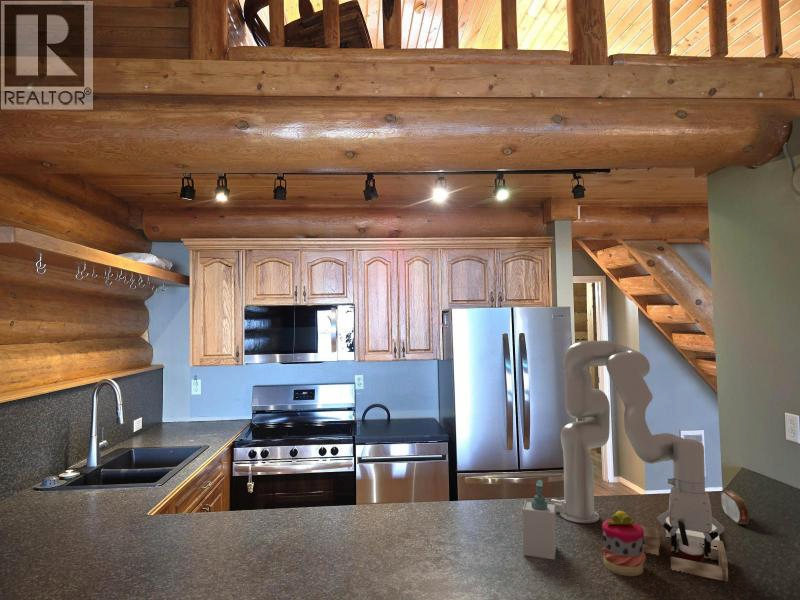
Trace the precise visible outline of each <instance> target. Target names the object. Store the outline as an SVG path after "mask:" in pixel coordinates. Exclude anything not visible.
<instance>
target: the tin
mask: <svg viewBox="0 0 800 600" xmlns="http://www.w3.org/2000/svg"><path fill="white" fill-rule="evenodd" d="M720 500H721V507H722V510H723V513H724V514H725V515H726V516H727V517H729V519H731V520H732V521H733V522H734V523H735V524H737V525H745V526H747V525H748V524H749V519H750V517H749V516H750V515H749V511H748V506H747V504H746V502H745V500H744V499H743V498H742V497H741V496H740V495H738V494H737V493H735V491H733V490H732V489H730V490H725V489H724V490H721V492H720Z"/></svg>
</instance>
